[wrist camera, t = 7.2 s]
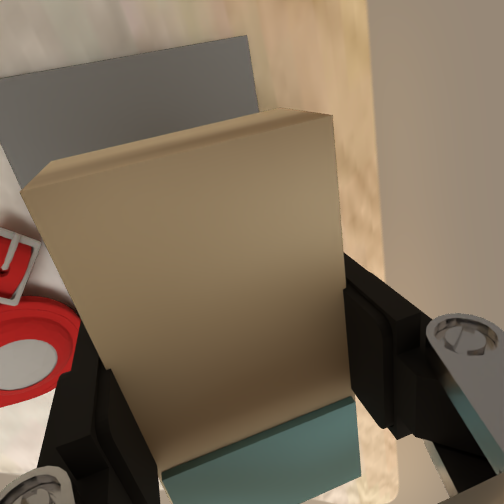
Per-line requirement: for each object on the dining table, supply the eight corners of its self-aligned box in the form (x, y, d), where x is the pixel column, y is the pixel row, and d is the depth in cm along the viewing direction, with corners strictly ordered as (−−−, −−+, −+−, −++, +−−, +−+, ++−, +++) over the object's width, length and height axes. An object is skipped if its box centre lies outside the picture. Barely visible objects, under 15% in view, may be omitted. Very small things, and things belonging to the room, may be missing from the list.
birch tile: (50, 161, 8) (16, 195, 5) (279, 107, 8) (338, 116, 6) (181, 465, 12) (195, 558, 10) (322, 409, 13) (365, 480, 11)
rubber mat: (120, 397, 28) (120, 403, 28) (-23, 83, 19) (-28, 83, 18) (292, 339, 31) (294, 343, 30) (244, 36, 21) (247, 35, 21)
